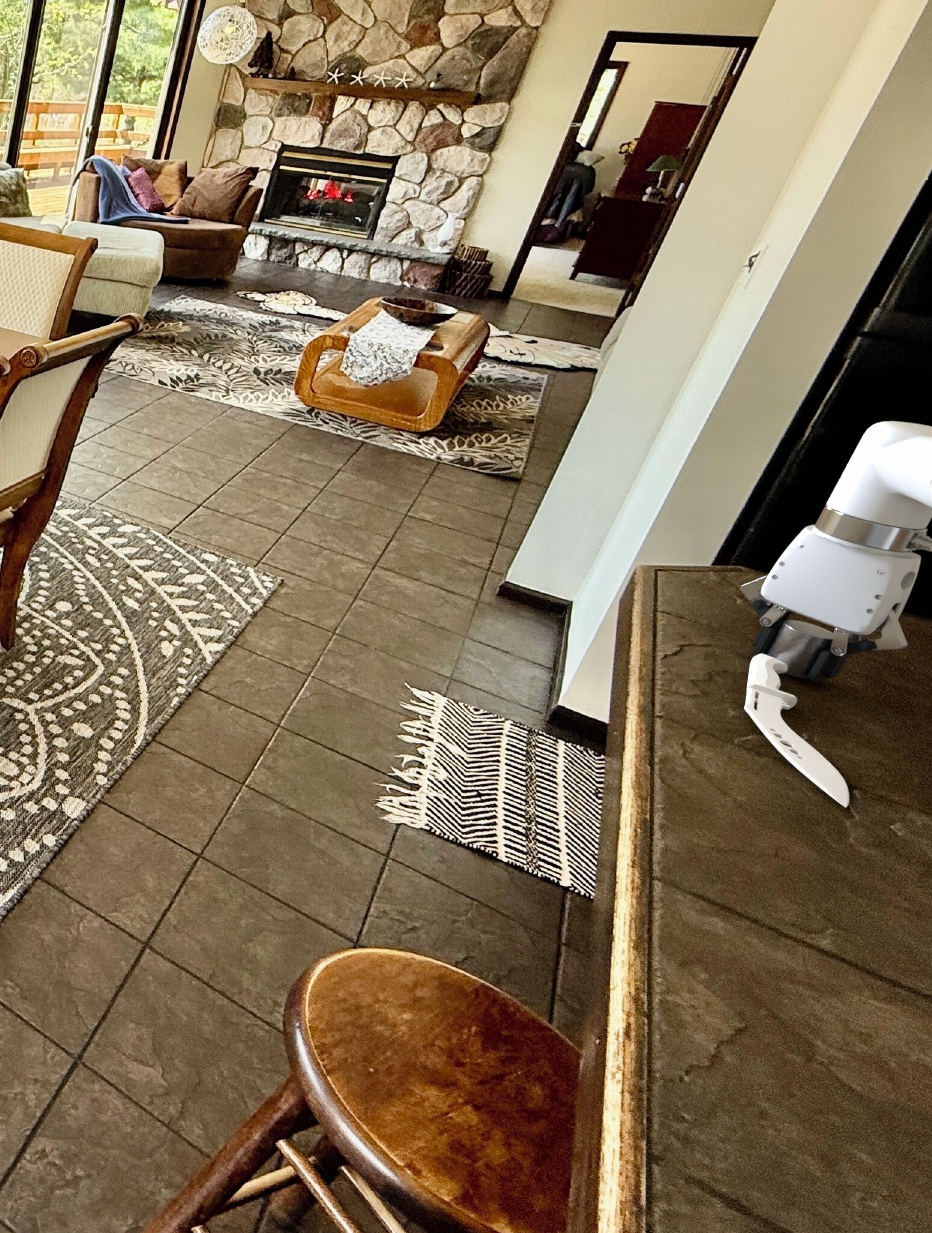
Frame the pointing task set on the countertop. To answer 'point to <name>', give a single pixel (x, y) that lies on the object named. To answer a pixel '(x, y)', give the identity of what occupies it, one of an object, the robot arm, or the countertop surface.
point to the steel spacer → (800, 646)
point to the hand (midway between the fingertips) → (789, 666)
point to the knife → (771, 723)
